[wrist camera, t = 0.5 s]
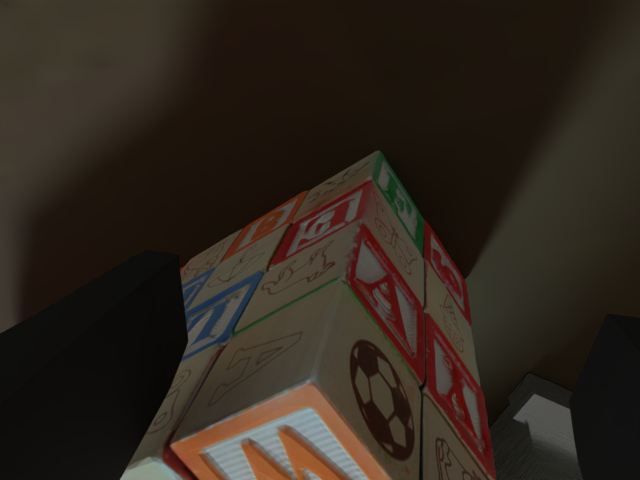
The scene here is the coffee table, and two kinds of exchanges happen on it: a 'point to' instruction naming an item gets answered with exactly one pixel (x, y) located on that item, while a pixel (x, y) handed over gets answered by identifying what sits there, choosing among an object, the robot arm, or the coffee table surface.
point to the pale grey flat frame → (535, 434)
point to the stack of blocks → (325, 349)
